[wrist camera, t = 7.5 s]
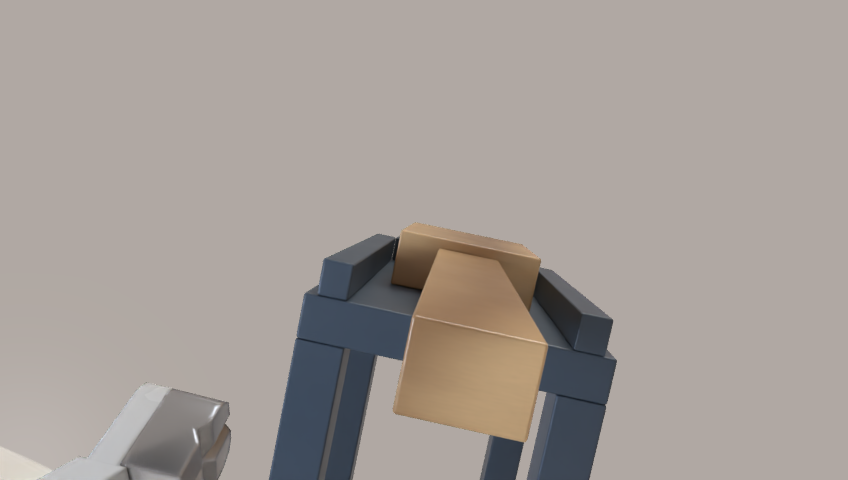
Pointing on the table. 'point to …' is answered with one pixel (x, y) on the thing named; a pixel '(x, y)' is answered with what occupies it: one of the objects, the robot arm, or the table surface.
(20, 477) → the table surface
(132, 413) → the robot arm
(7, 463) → the table surface
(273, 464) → the tall stand
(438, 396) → the crossed tan timber pieces
